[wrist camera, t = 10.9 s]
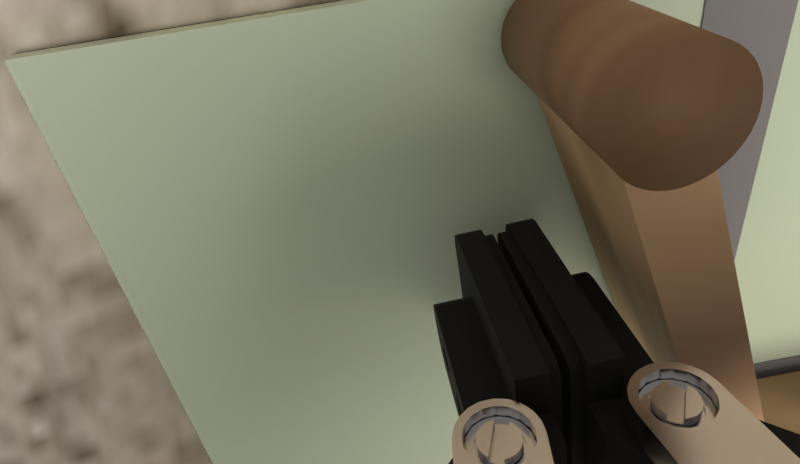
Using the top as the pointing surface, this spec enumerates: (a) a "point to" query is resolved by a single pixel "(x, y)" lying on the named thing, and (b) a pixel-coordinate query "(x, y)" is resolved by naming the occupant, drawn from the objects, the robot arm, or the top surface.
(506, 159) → the board
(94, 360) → the top surface
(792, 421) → the bar
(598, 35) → the fence panel
